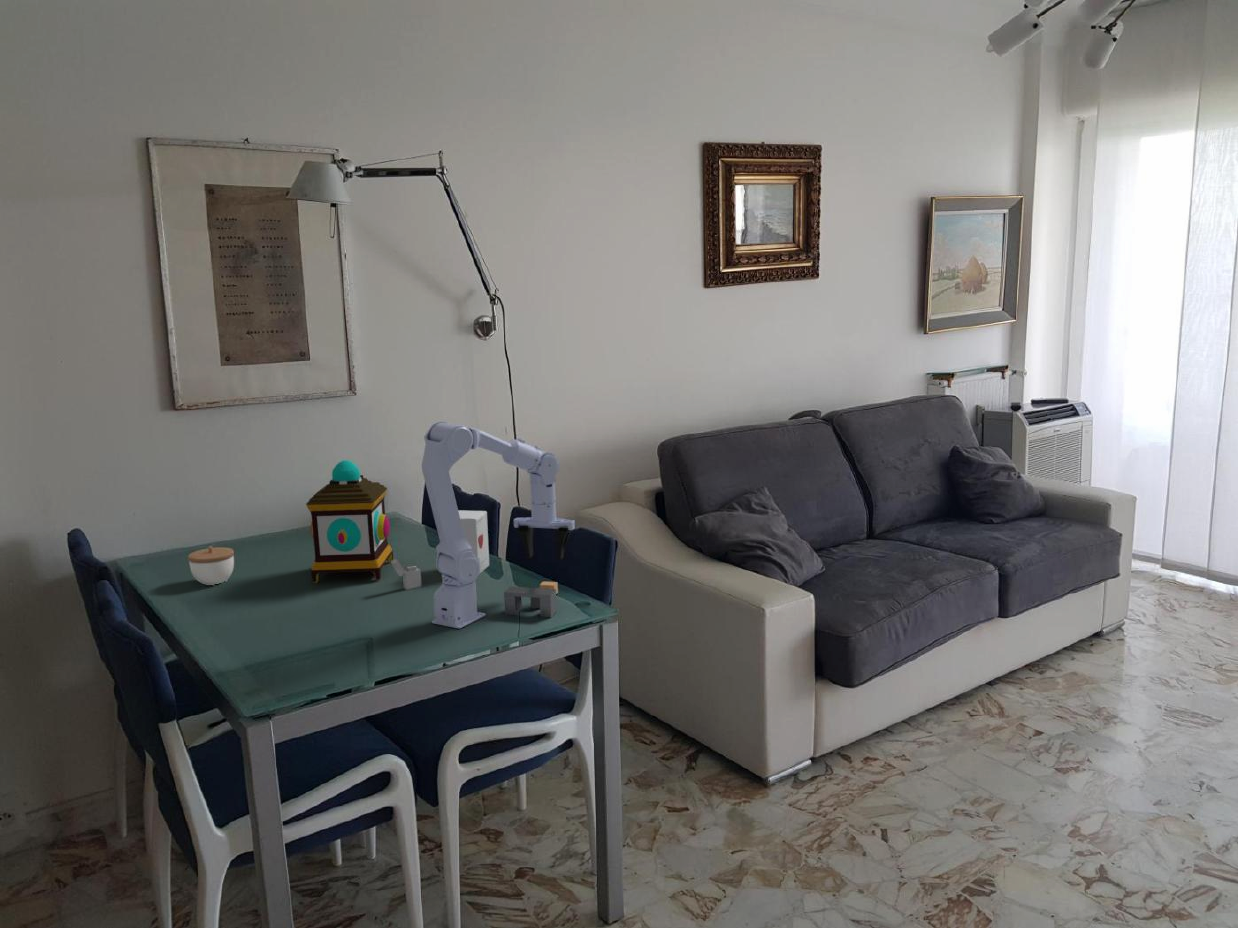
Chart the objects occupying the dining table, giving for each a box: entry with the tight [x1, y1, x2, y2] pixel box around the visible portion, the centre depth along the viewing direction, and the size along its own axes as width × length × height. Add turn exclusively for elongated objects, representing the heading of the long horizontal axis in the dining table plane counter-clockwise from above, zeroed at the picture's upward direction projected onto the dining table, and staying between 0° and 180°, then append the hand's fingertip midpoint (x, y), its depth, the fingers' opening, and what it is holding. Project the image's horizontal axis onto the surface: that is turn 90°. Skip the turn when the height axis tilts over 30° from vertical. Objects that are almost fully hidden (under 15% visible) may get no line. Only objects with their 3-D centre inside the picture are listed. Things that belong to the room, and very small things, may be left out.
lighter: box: [390, 558, 422, 591], centre depth 234 cm, size 7×2×8 cm, turn 128°
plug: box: [530, 581, 559, 609], centre depth 223 cm, size 11×4×3 cm, turn 165°
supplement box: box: [458, 509, 490, 575], centre depth 248 cm, size 9×9×15 cm
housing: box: [503, 586, 558, 619], centre depth 215 cm, size 4×11×5 cm, turn 75°
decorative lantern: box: [305, 459, 394, 584], centre depth 246 cm, size 20×20×30 cm
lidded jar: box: [187, 545, 235, 586], centre depth 243 cm, size 11×11×9 cm
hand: (545, 557), depth 225 cm, fingers open, 7 cm apart
